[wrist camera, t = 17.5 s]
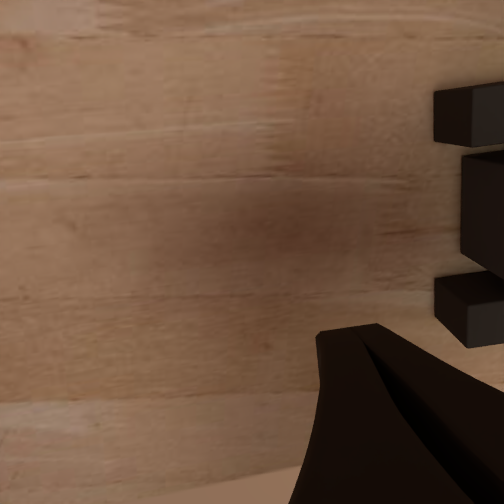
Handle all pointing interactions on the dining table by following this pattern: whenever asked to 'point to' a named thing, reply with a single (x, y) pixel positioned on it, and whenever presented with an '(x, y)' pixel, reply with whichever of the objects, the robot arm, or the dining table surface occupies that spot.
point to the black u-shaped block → (483, 283)
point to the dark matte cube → (483, 210)
